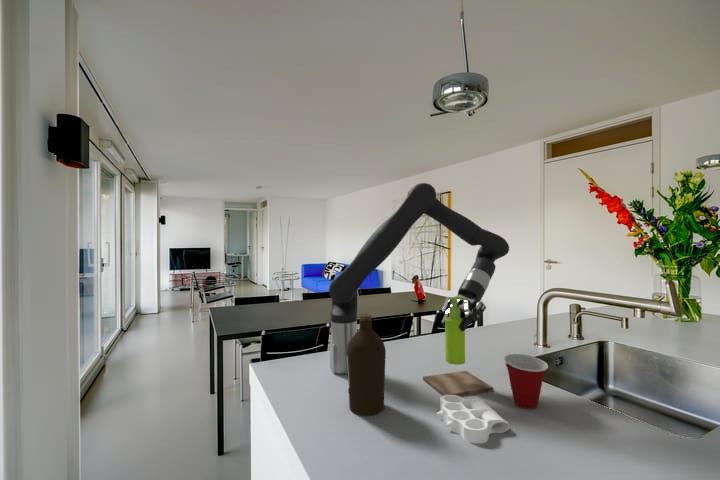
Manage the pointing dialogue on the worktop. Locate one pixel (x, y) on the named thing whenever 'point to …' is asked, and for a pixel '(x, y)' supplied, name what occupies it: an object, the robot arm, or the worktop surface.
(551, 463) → the worktop surface
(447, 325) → the soap dispenser
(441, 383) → the soap board
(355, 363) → the olive oil
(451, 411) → the white flat holed block
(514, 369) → the plastic cup
